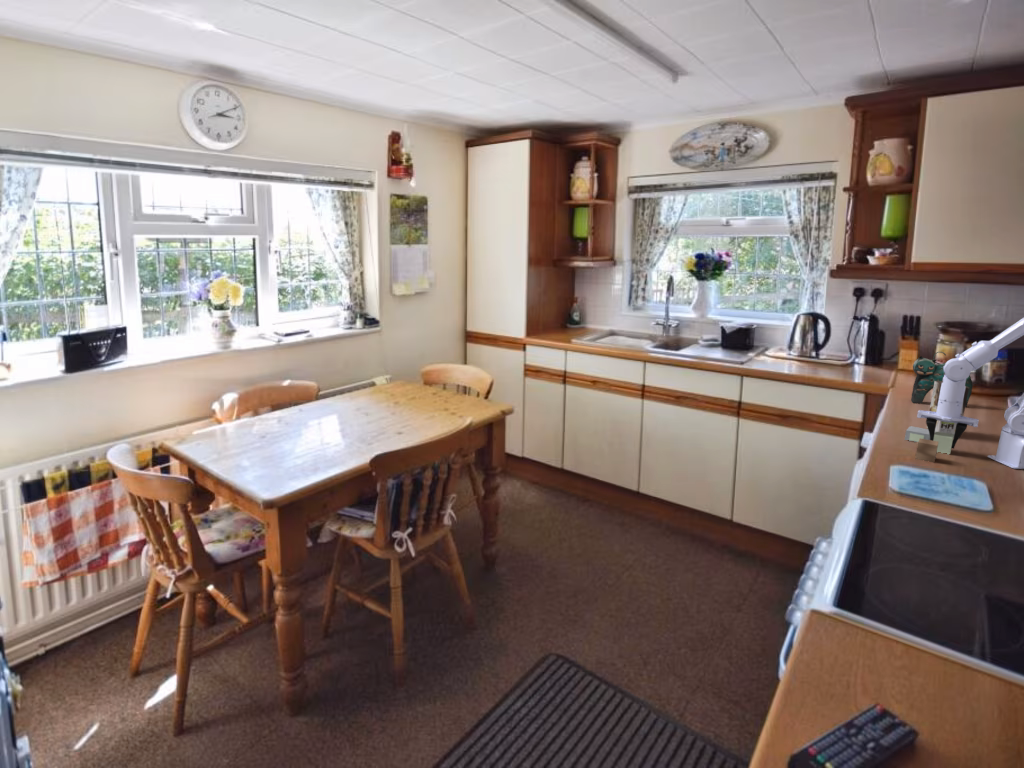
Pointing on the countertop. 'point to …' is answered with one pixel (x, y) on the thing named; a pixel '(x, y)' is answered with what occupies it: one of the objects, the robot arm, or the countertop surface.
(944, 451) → the sage block
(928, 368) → the ceramic cat
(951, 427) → the coffee box
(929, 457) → the walnut block
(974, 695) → the countertop surface
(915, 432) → the base block
